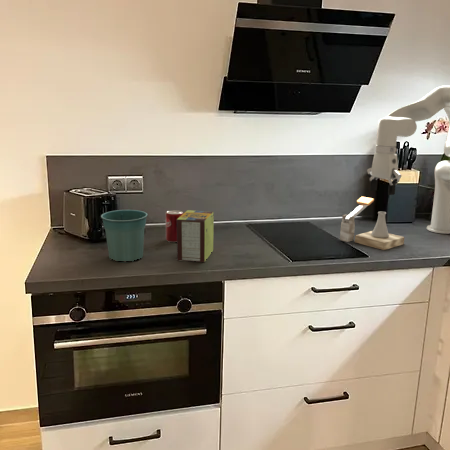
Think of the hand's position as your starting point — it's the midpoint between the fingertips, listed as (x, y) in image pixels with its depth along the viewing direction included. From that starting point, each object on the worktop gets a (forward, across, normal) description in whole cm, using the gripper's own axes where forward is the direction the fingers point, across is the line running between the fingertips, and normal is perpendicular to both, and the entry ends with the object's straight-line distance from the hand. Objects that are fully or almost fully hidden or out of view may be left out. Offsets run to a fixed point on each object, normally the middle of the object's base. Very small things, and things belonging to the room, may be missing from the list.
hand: (382, 192), depth 211 cm
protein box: (+20, +17, +75) cm, 80 cm away
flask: (+18, -1, +1) cm, 18 cm away
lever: (+10, +9, +3) cm, 14 cm away
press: (+21, +1, +2) cm, 21 cm away
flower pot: (+20, +26, +100) cm, 105 cm away
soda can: (+20, +39, +74) cm, 86 cm away
